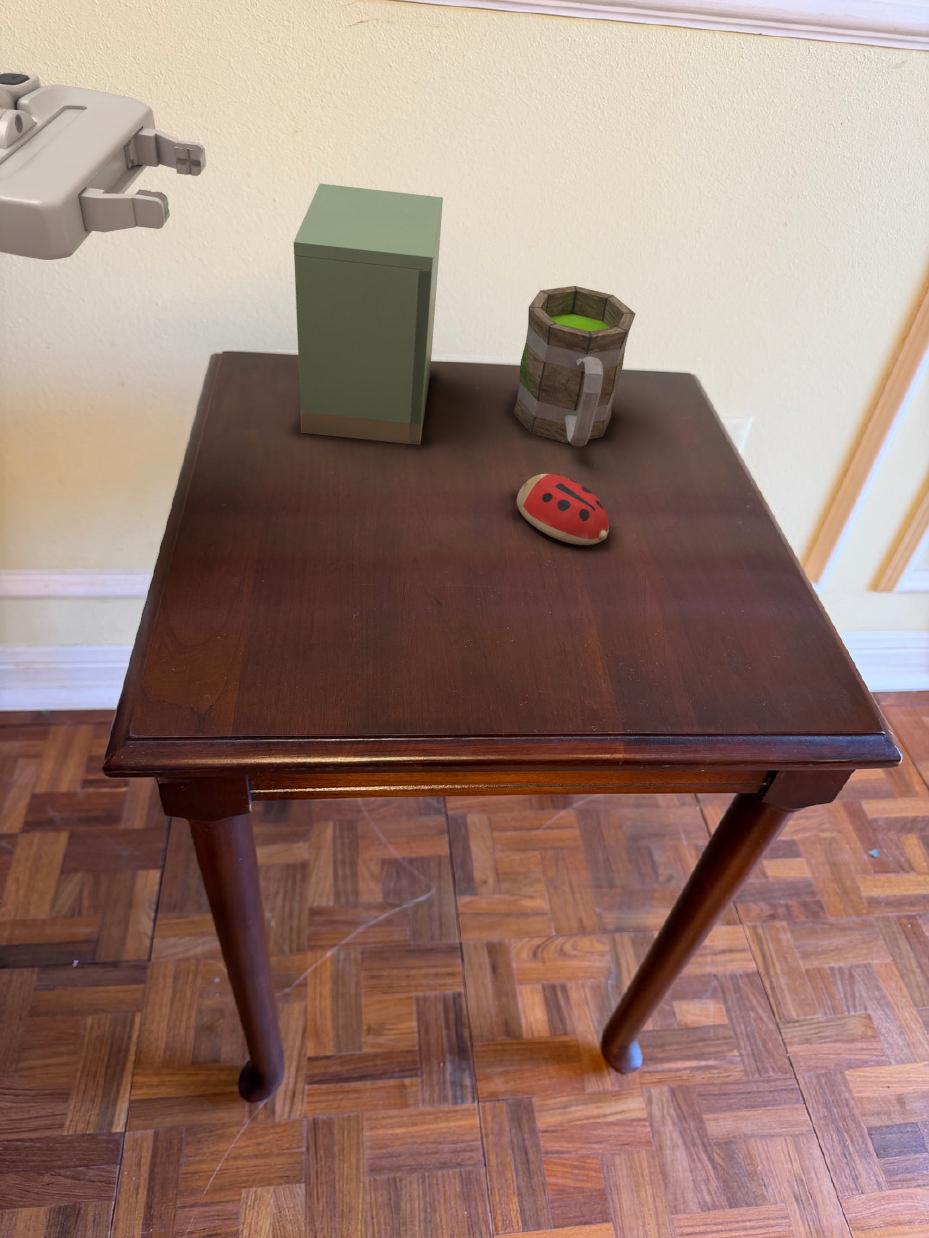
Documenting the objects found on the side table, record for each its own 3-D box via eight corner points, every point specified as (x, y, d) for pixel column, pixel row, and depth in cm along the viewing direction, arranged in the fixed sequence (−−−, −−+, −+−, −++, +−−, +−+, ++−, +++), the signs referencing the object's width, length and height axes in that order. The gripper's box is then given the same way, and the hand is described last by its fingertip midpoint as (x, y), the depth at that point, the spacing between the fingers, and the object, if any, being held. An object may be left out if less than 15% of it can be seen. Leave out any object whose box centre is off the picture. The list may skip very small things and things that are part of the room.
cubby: (301, 432, 90) (293, 241, 76) (323, 363, 100) (319, 183, 86) (420, 445, 90) (433, 257, 77) (430, 374, 100) (443, 197, 87)
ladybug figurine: (541, 483, 88) (547, 453, 85) (625, 530, 84) (633, 500, 81) (498, 512, 84) (503, 481, 81) (583, 563, 80) (591, 532, 77)
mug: (508, 386, 100) (522, 282, 92) (602, 391, 101) (625, 289, 93) (522, 469, 89) (540, 360, 81) (628, 474, 90) (657, 366, 82)
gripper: (-118, 162, 50) (130, 193, 51) (24, 64, 65) (217, 89, 65) (-82, 271, 55) (147, 299, 55) (44, 157, 69) (224, 179, 70)
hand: (185, 184), depth 60 cm, fingers open, 8 cm apart
